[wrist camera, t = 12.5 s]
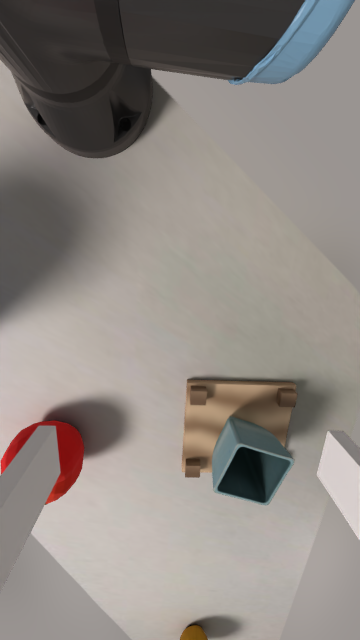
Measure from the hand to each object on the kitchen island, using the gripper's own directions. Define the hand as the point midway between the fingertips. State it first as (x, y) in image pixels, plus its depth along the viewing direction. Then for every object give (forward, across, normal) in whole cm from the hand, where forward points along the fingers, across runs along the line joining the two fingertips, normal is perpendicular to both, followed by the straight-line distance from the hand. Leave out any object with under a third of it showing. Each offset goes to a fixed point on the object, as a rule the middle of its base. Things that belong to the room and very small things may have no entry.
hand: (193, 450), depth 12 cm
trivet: (+27, +11, -20) cm, 35 cm away
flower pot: (+26, +11, -20) cm, 34 cm away
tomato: (+27, -20, -23) cm, 41 cm away
